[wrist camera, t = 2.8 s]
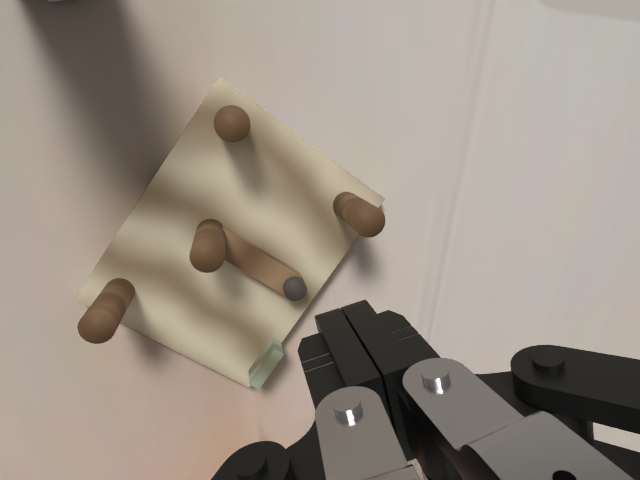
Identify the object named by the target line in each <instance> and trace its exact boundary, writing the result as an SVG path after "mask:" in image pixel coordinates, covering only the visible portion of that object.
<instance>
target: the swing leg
mask: <svg viewBox="0 0 640 480" xmlns="http://www.w3.org/2000/svg"><path fill="white" fill-rule="evenodd" d="M189 258H190V262H191V264H192V266H193V267H194V268H195V269H196V270H198V271H200V272H204V273H211V272H214V271H216V270H218V269H219V268H220V267H221V266H222V265H223V263H224V260H226V261H227V262H229V263H231V264H232V265H234V266H236V267H237V268H239V269H241V270H242V271H244V272H246V273H247V274H249V275H251V276H252V277H254V278H256V279H258V280H259V281H261V282H263V283H264V284H266V285H268V286H269V287H271V288H273V289H274V290H276V291H278V292H279V293H281V294H283V295H284V296H286V298H287V299H289V300H291V301H299V300H301V299H302V298H304V296H305V295H306V293H307V287H306V284H305V282H304V280H303V278H302V276H301V275H300V273H299V272H297V271H296V270H294V269H292V268H291V267H289V266H288V265H286V264H284V263H283V262H281V261H280V260H278V259H276V258H275V257H273V256H272V255H270V254H268V253H267V252H265V251H264V250H262V249H260V248H259V247H257V246H256V245H254V244H252V243H251V242H249V241H248V240H246V239H244V238H243V237H241V236H239V235H238V234H236V233H235V232H233V231H231V230H230V229H228V228H227V227H225V226H223V225H222V223H220V222H219V221H217V220H215V219H206V220H204V221H202V222H201V223H200V224H199V225H198V227H197V229H196V233H195V236H194V240H193V243H192V247H191V250H190V255H189Z"/></svg>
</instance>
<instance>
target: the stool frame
mask: <svg viewBox="0 0 640 480" xmlns="http://www.w3.org/2000/svg"><path fill="white" fill-rule="evenodd" d="M384 199H385V198H383V197H382V196H380V195H379V194H378V193H376V192H375V191H374V190H372V189H371V188H370V187H368V186H367V185H366V184H364V183H363V182H362V181H360V180H359V179H358V178H356V177H355V176H353V175H352V174H351V173H349V172H348V171H347V170H345V169H344V168H343V167H341V166H340V165H339V164H337V163H336V162H335V161H333V160H332V159H331V158H329V157H328V156H327V155H325V154H324V153H322V152H321V151H320V150H318V149H317V148H316V147H314V146H313V145H312V144H310V143H309V142H308V141H306V140H305V139H304V138H302V137H301V136H300V135H298V134H297V133H295V132H294V131H293V130H291V129H290V128H289V127H287V126H286V125H285V124H283V123H282V122H281V121H279V120H278V119H277V118H275V117H274V116H273V115H271V114H270V113H268V112H267V111H266V110H264V109H263V108H262V107H260V106H259V105H258V104H256V103H255V102H254V101H252V100H251V99H250V98H248V97H247V96H246V95H244V94H243V93H241V92H240V91H239V90H237V89H236V88H235V87H233V86H232V85H231V84H229V83H228V82H227V81H225V80H224V79H223V78H221V77H220V76H219V78H218V79H217V81H216V83H215V84H214V86H213V87H212V89H211V90H210V92H209V93H208V95H207V96H206V98H205V99H204V101H203V102H202V104H201V105H200V107H199V109H198V110H197V112H196V113H195V115H194V116H193V118H192V119H191V121H190V122H189V124H188V125H187V127H186V128H185V130H184V132H183V133H182V135H181V136H180V138H179V139H178V141H177V142H176V144H175V145H174V147H173V148H172V150H171V151H170V153H169V155H168V156H167V158H166V159H165V161H164V162H163V164H162V165H161V167H160V168H159V170H158V171H157V173H156V174H155V176H154V177H153V179H152V181H151V182H150V184H149V185H148V187H147V188H146V190H145V191H144V193H143V194H142V196H141V197H140V199H139V200H138V202H137V204H136V205H135V207H134V208H133V210H132V211H131V213H130V214H129V216H128V217H127V219H126V220H125V222H124V223H123V225H122V226H121V228H120V230H119V231H118V233H117V234H116V236H115V237H114V239H113V240H112V242H111V243H110V245H109V246H108V248H107V249H106V251H105V253H104V254H103V256H102V257H101V259H100V260H99V262H98V263H97V265H96V266H95V268H94V269H93V271H92V272H91V274H90V276H89V277H88V279H87V280H86V282H85V283H84V285H83V286H82V288H81V289H80V291H79V292H78V294H77V295H76V297H75V298H74V300H75V301H77V302H79V303H81V304H83V305H85V306H87V307H89V309H88V310H87V311H86V313H85V314H84V315H83V317H82V318H81V319H80V321H79V323H78V331H79V334H80V336H81V337H82V338H83V339H84V340H86V341H88V342H90V343H95V344H99V343H104V342H106V341H108V340H109V339H110V338H112V336H113V335H114V333H115V331H116V329H117V327H118V325H119V323H121V324H123V325H125V326H127V327H129V328H131V329H133V330H135V331H137V332H139V333H141V334H143V335H145V336H147V337H149V338H151V339H153V340H155V341H157V342H159V343H161V344H163V345H165V346H167V347H169V348H171V349H173V350H175V351H177V352H179V353H181V354H183V355H185V356H187V357H189V358H191V359H193V360H195V361H197V362H199V363H201V364H203V365H205V366H207V367H209V368H211V369H213V370H215V371H217V372H219V373H221V374H223V375H225V376H227V377H229V378H231V379H233V380H235V381H237V382H239V383H241V384H243V385H245V386H247V387H250V386H253V387H255V388H257V389H260V387H261V386H262V385H263V383H264V382H265V380H266V379H267V378H268V376H269V375H270V373H271V372H272V371H273V369H274V368H275V367H276V365H277V364H278V362H279V361H280V360H281V358H282V357H283V355H284V352H283V348H282V344H281V343H282V342H283V340H284V339H285V337H286V336H287V335H288V333H289V332H290V330H291V329H292V328H293V326H294V325H295V323H296V322H297V321H298V319H299V318H300V316H301V315H302V314H303V312H304V311H305V309H306V308H307V307H308V305H309V304H310V303H311V301H312V300H313V298H314V297H315V296H316V294H317V293H318V291H319V290H320V289H321V287H322V286H323V284H324V283H325V282H326V280H327V279H328V277H329V276H330V275H331V273H332V272H333V270H334V269H335V268H336V266H337V265H338V264H339V262H340V261H341V259H342V258H343V257H344V255H345V254H346V252H347V251H348V250H349V248H350V247H351V245H352V244H353V243H354V241H355V240H356V238H357V237H358V236H359V234H360V235H361V236H364V237H374V236H376V235H378V234H379V233H380V232H381V231H382V229H383V228H384V225H385V216H384V213H383V212H382V211H381V210H380V209H379V206H380V205H381V204H382V202H383V201H384ZM206 219H215V220H217V221H219V222H220V223H222V225H223V226H225V227H227V228H228V229H230V230H231V231H233V232H235V233H236V234H238V235H239V236H241V237H243V238H244V239H246V240H248V241H249V242H251V243H252V244H254V245H256V246H257V247H259V248H260V249H262V250H264V251H265V252H267V253H268V254H270V255H272V256H273V257H275V258H276V259H278V260H280V261H281V262H283V263H284V264H286V265H288V266H289V267H291V268H292V269H294V270H296V271H297V272H299V273H300V275H301V276H302V278H303V280H304V282H305V284H306V287H307V293H306V295H305V296H304V298H302V299H301V300H299V301H291V300H289V299H287V298H286V296H284V295H283V294H281V293H279V292H278V291H276V290H274V289H273V288H271V287H269V286H268V285H266V284H264V283H263V282H261V281H259V280H258V279H256V278H254V277H252V276H251V275H249V274H247V273H246V272H244V271H242V270H241V269H239V268H237V267H236V266H234V265H232V264H231V263H229V262H227V261H226V260H224V263H223V265H222V266H221V267H220V268H219V269H218V270H216V271H214V272H211V273H204V272H200V271H198V270H196V269H195V268H194V267H193V266H192V264H191V262H190V258H189V255H190V250H191V247H192V243H193V240H194V236H195V233H196V229H197V227H198V225H199V224H200V223H201V222H202V221H204V220H206Z"/></svg>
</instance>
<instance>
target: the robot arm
mask: <svg viewBox="0 0 640 480" xmlns="http://www.w3.org/2000/svg"><path fill="white" fill-rule="evenodd" d="M315 321H316V325H317V328H318V332H319V333H318V334H315V335H311V336H308V337H305V338H302V340H301V343H300V345H299V348H298V354H299V357H300V360H301V364H302V367H303V370H304V374H305V377H306V380H307V384H308V387H309V391H310V394H311V397H312V400H313V404H314V407H315V410H316V412H315V421H314V423H313V425H312V427H311V428H310V430H309V431H308V432H307V433H306V435H304V436H303V437H302V438H301V439H300V440H299V441H297V442H296V443H294V444H293V445H291V446H290V447H288V448H287V449H285V448H284V447H283V446H282V445H280V444H278V443H276V442H271V441H260V442H255V443H252V444H249V445H247V446H244V447H243V448H241V449H239V450H237V451H236V452H235V453H233V454H232V455H231V456H230V457H229V458H228V459H227V460H226V461H225V462H224V463H223V465H222V466H221V467H220V469H219V470H218V471H217V472H216V474H215V475H214V476H213V478H212V479H211V480H420V478H419V476H418V474H417V471H416V469H415V468H414V466H413V465H412V464H411V465H408V463H407V461H410V460H413V459H415V458H416V459H417V461H418V462H419V464H420V466H421V468H422V473H423V478H424V480H640V452H636V451H632V450H629V449H625V448H622V447H618V446H615V445H611V444H608V443H604V442H601V441H597V440H594V434H593V422H595V423H599V424H602V425H606V426H610V427H614V428H618V429H622V430H625V431H629V432H633V433H637V434H640V360H638V359H632V358H626V357H620V356H614V355H608V354H602V353H597V352H591V351H585V350H579V349H573V348H567V347H561V346H554V345H537V346H531V347H527V348H525V349H522V350H520V351H519V352H517V353H516V354H515V355H514V356H513V357H512V360H511V371H509V372H500V373H491V374H473V373H472V372H471V371H470V370H469V369H468V368H467V367H465V366H464V365H463V364H461V363H460V362H458V361H455V360H452V359H447V358H441V357H440V356H439V355H438V354H437V353H436V352H435V351H434V350H433V349H432V347H431V346H430V345H429V344H428V343H427V342H426V341H425V340H424V339H423V337H422V336H421V335H420V334H418V332H417V331H416V330H415V329H414V328H413V327H412V326H411V324H410V323H409V322H408V321H407V320H406V319H405V318H404V316H402V315H400V314H397V313H395V312H392V311H390V310H388V311H385V312H382V313H379V314H377V313H376V312H375V311H374V309H373V308H372V307H371V306H370V304H369V303H368V302H367V301H366V300H362V301H359V302H356V303H353V304H350V305H347V306H344V307H341V310H340V308H338V309H335V310H332V311H328V312H325V313H322V314H319V315H316V316H315Z"/></svg>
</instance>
